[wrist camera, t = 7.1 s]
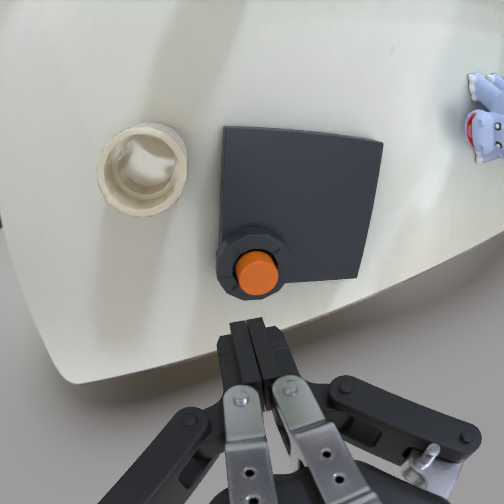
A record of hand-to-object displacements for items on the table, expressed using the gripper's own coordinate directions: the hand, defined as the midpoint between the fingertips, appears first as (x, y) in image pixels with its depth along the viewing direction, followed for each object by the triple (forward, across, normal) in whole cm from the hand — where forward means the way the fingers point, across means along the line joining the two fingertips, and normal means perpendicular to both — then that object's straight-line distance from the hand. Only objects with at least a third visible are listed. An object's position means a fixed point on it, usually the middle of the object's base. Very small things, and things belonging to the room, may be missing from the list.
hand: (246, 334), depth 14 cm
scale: (+13, -7, 0) cm, 15 cm away
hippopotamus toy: (+14, -30, -9) cm, 34 cm away
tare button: (+10, -2, +3) cm, 11 cm away
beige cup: (+14, +4, -6) cm, 16 cm away
